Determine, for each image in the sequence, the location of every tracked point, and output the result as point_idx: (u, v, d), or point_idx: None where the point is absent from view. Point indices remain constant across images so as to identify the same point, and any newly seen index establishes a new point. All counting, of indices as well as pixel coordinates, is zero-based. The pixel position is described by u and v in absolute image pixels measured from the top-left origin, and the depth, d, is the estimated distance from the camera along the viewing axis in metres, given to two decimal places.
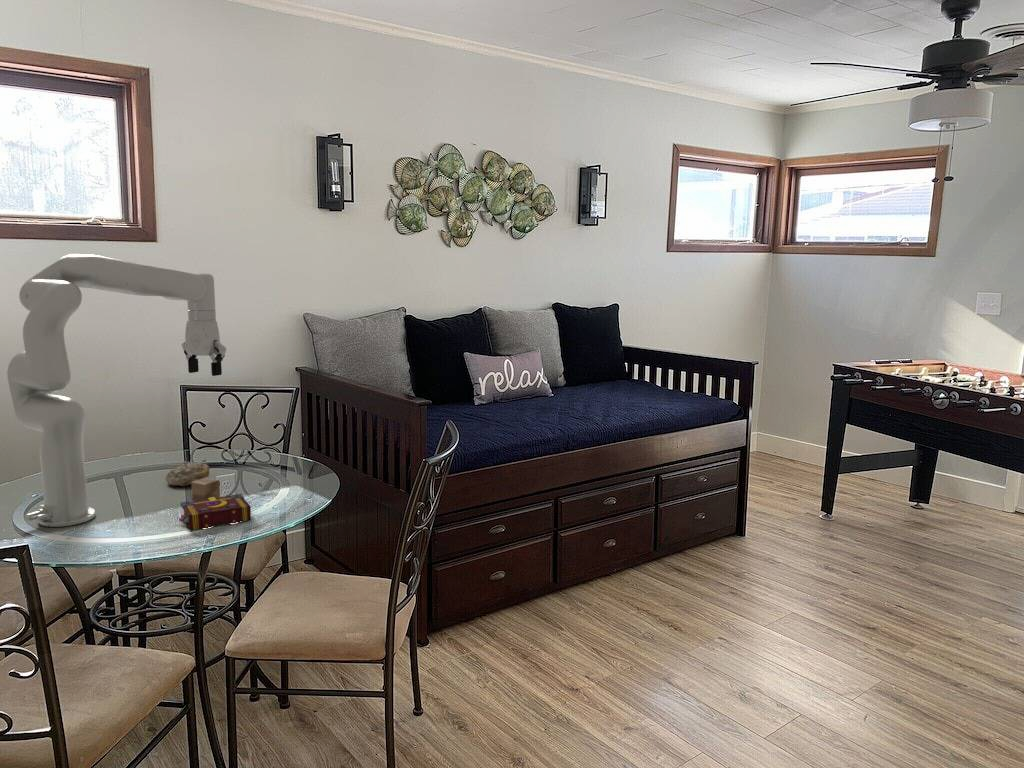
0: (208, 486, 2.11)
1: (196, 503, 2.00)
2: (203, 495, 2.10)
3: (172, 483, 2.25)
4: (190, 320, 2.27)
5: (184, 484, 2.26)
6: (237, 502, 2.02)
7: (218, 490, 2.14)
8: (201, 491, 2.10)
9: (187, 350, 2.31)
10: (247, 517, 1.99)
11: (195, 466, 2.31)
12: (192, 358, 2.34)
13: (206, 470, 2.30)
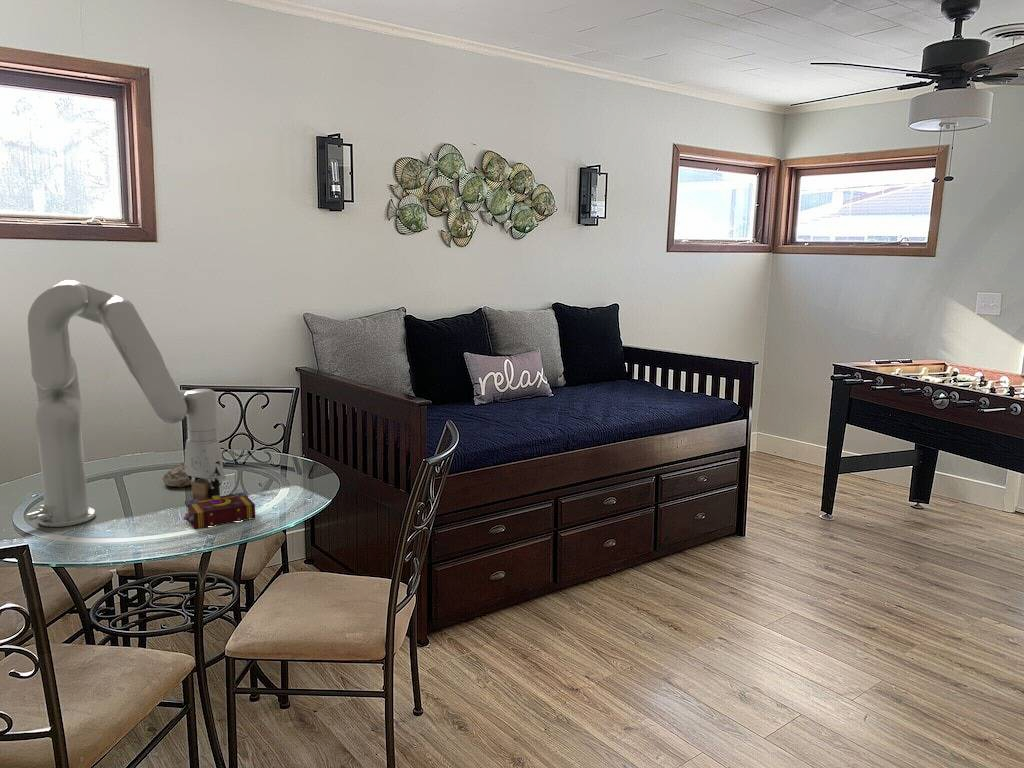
0: (208, 486, 2.11)
1: (200, 501, 2.02)
2: (203, 495, 2.10)
3: (169, 484, 2.24)
4: (190, 441, 2.08)
5: (181, 485, 2.25)
6: (241, 500, 2.03)
7: None
8: (201, 491, 2.10)
9: (187, 472, 2.12)
10: (252, 515, 2.01)
11: None
12: None
13: None
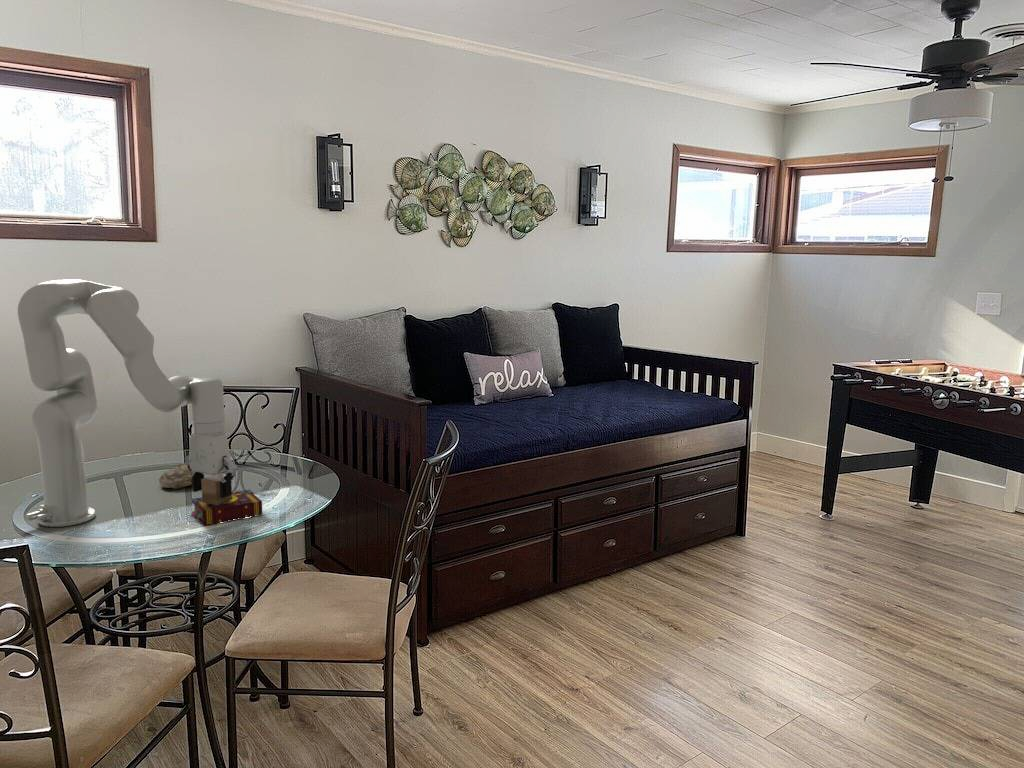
0: (219, 484, 1.98)
1: None
2: (214, 493, 1.97)
3: (165, 485, 2.23)
4: (195, 434, 1.93)
5: (177, 487, 2.24)
6: (248, 497, 2.06)
7: None
8: (212, 489, 1.97)
9: (191, 467, 1.97)
10: (259, 512, 2.03)
11: None
12: (197, 474, 2.00)
13: None
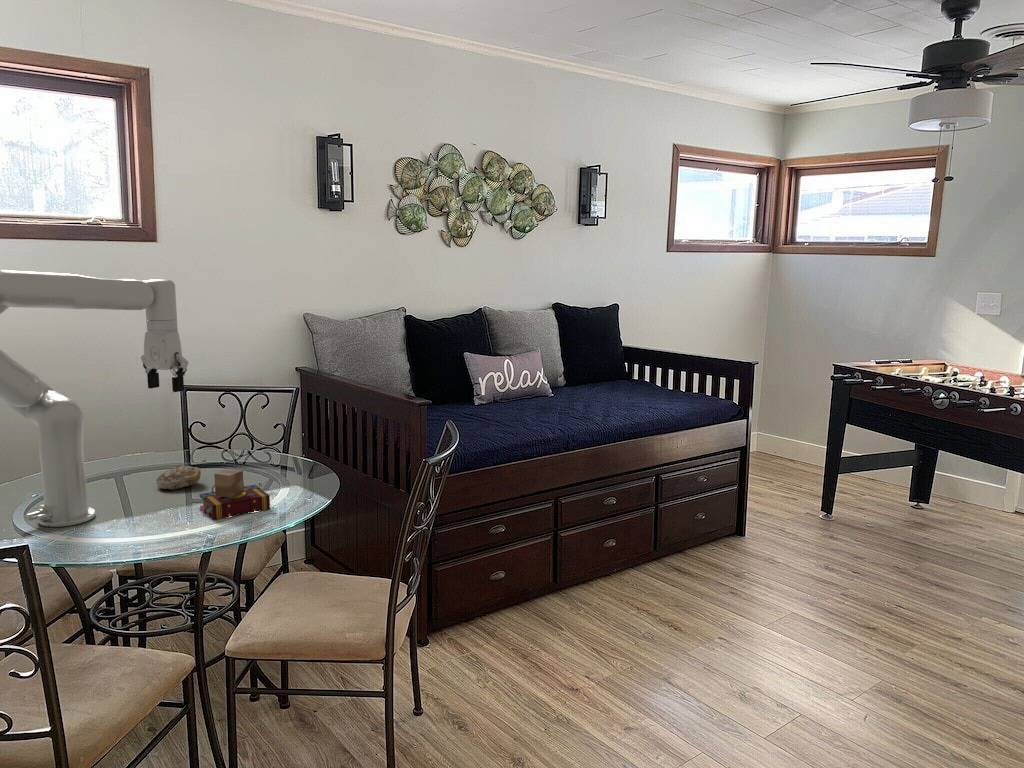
0: (233, 477, 2.04)
1: None
2: (228, 486, 2.03)
3: (162, 486, 2.22)
4: (148, 331, 2.06)
5: (174, 488, 2.23)
6: (255, 492, 2.10)
7: (242, 481, 2.07)
8: (226, 482, 2.03)
9: (146, 364, 2.10)
10: (267, 506, 2.08)
11: (186, 469, 2.27)
12: (152, 372, 2.13)
13: (197, 474, 2.26)
